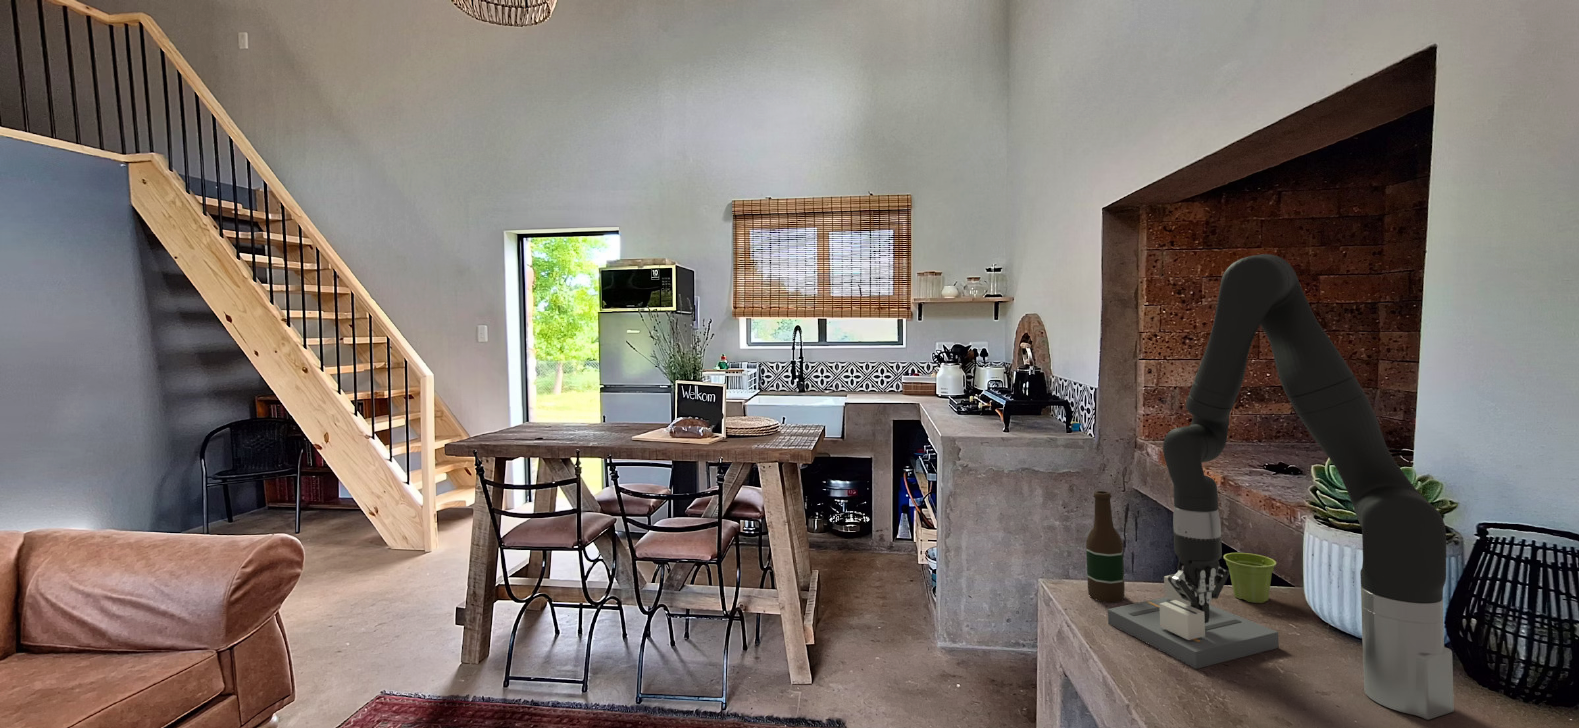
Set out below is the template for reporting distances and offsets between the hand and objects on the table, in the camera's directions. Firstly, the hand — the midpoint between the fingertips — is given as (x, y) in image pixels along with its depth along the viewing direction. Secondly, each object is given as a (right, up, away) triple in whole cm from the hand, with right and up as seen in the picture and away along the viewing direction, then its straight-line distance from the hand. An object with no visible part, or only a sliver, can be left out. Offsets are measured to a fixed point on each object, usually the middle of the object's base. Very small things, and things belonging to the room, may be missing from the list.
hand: (1200, 621), depth 119 cm
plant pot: (+24, -3, +20) cm, 31 cm away
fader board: (+1, -4, +4) cm, 6 cm away
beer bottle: (-6, -5, +24) cm, 25 cm away
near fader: (-4, -1, -1) cm, 5 cm away
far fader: (+4, -1, +12) cm, 13 cm away
